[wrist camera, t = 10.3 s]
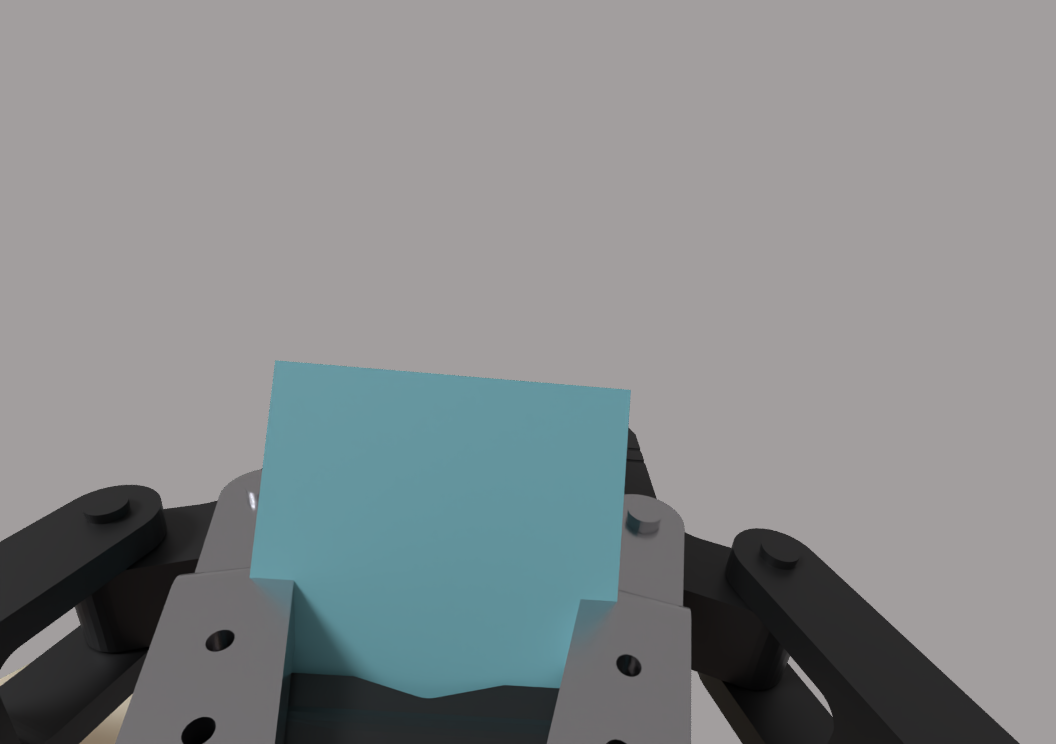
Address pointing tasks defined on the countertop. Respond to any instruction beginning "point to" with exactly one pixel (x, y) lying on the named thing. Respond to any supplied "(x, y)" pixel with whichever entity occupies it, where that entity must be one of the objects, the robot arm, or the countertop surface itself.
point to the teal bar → (439, 522)
